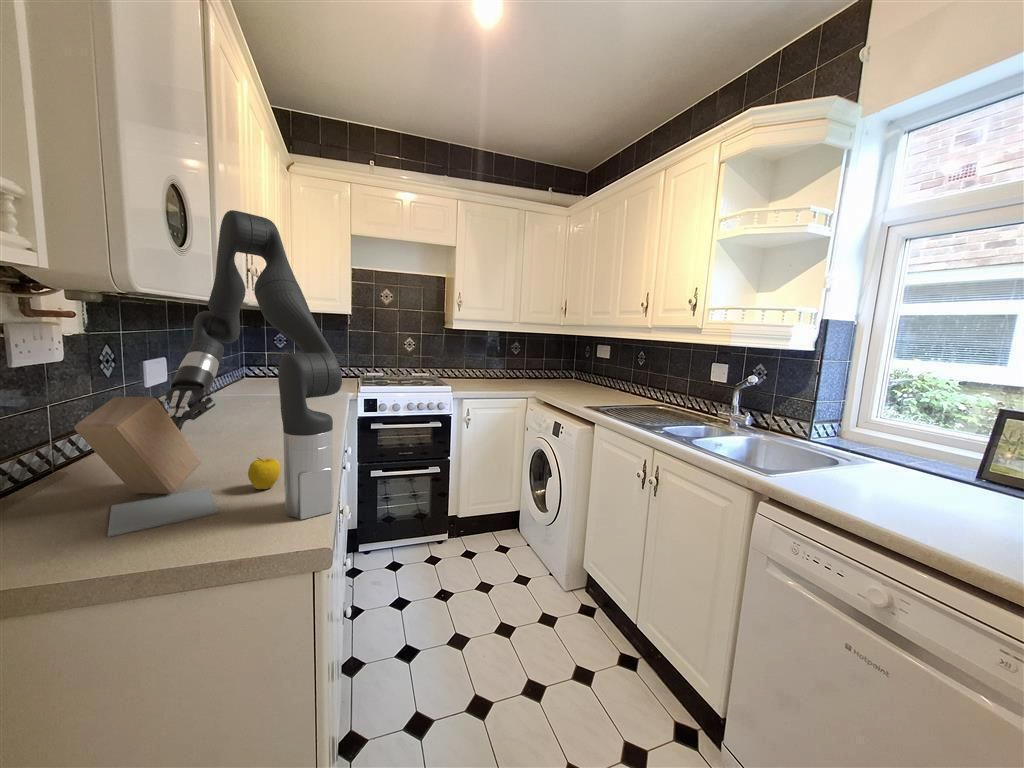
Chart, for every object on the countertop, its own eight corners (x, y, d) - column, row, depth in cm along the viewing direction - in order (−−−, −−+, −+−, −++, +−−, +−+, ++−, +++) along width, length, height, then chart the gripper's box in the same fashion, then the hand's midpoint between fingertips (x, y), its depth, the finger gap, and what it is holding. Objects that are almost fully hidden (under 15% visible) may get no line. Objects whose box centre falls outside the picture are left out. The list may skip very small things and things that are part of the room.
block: (204, 461, 96) (157, 395, 84) (173, 496, 88) (115, 427, 76) (166, 461, 97) (114, 394, 85) (131, 494, 89) (68, 426, 77)
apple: (242, 492, 93) (240, 459, 92) (262, 482, 99) (261, 450, 98) (267, 495, 92) (266, 461, 91) (286, 484, 98) (285, 453, 97)
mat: (218, 512, 83) (218, 511, 83) (107, 537, 72) (107, 534, 72) (208, 489, 94) (208, 487, 94) (111, 507, 83) (111, 505, 83)
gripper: (158, 363, 98) (126, 425, 87) (220, 365, 101) (196, 424, 90) (173, 382, 104) (144, 442, 93) (231, 383, 106) (209, 441, 96)
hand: (170, 433), depth 92 cm, fingers closed
